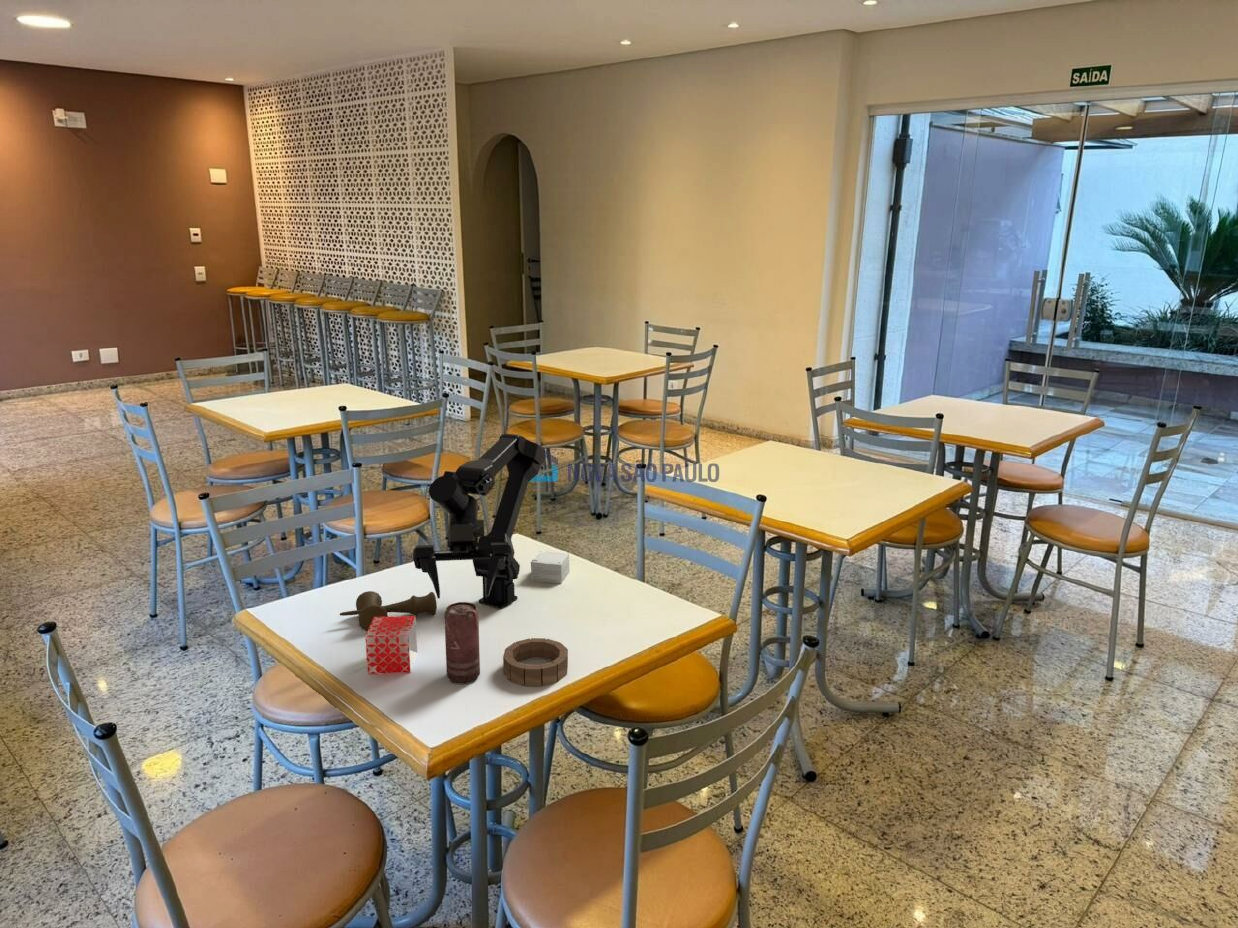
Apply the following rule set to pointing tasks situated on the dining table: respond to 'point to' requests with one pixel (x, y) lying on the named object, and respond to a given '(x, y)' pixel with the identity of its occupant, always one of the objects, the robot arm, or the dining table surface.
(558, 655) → the walnut ring
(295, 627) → the dining table surface
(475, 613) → the can
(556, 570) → the small box
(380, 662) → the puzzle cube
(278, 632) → the dining table surface
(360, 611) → the kendama
